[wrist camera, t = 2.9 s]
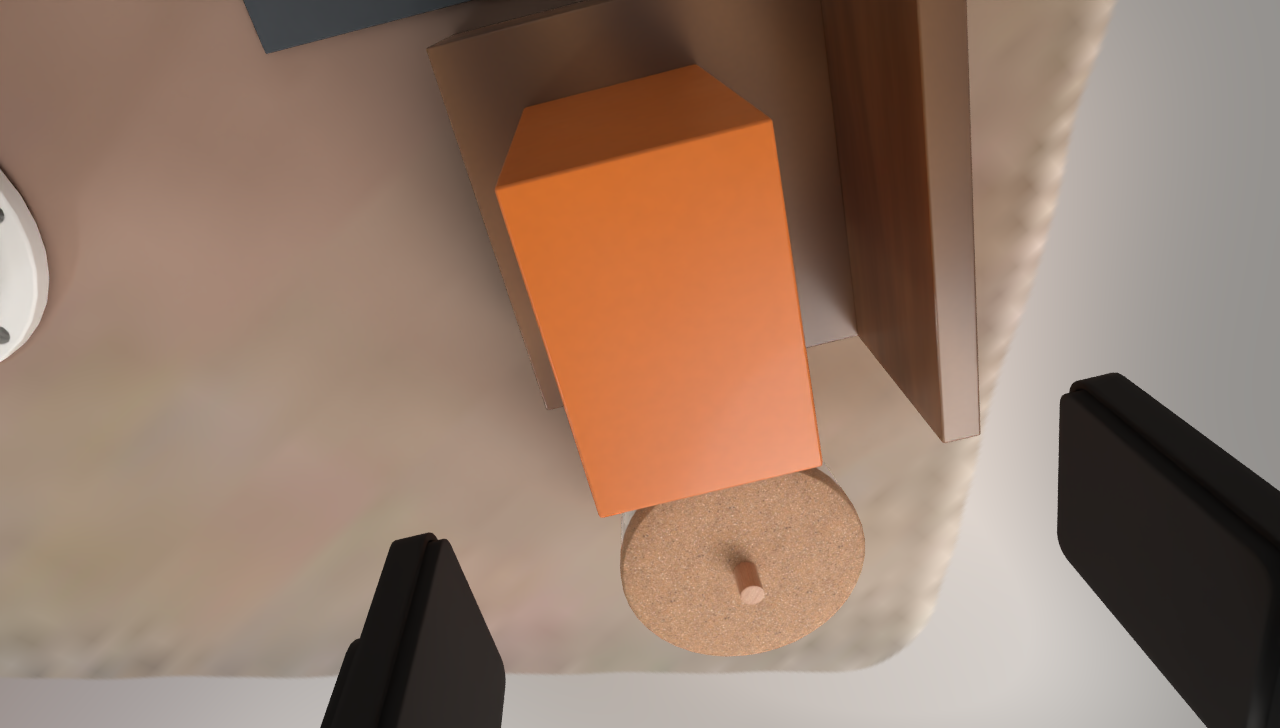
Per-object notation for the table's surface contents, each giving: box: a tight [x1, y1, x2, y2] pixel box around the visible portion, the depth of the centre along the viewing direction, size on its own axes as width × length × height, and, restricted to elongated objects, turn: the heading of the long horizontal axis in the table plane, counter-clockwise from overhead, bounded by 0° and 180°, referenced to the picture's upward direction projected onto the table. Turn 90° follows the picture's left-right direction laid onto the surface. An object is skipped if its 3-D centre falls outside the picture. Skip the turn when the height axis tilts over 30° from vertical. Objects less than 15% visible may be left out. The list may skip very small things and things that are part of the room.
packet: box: [495, 64, 823, 518], centre depth 23 cm, size 6×9×11 cm, turn 13°
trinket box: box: [620, 462, 865, 656], centre depth 36 cm, size 11×11×9 cm
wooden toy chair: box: [427, 0, 980, 443], centre depth 27 cm, size 14×14×14 cm
